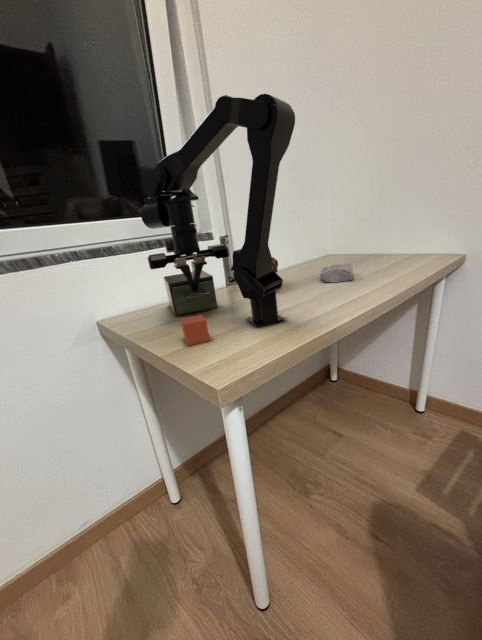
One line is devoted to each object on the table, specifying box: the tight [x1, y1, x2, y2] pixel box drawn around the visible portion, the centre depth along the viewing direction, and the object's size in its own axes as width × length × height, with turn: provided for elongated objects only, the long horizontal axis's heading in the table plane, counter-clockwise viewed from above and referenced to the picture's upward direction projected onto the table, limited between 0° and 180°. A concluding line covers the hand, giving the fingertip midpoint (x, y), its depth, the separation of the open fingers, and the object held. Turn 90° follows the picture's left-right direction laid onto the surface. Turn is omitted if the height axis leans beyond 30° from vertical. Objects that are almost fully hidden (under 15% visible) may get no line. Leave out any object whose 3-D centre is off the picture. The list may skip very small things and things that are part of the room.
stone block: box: [319, 263, 354, 283], centre depth 99 cm, size 12×5×10 cm
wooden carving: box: [271, 256, 279, 273], centre depth 97 cm, size 16×5×10 cm, turn 0°
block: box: [180, 314, 210, 346], centre depth 62 cm, size 4×4×4 cm
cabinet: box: [163, 269, 219, 317], centre depth 86 cm, size 14×12×9 cm
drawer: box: [172, 280, 218, 314], centre depth 82 cm, size 17×10×7 cm, turn 19°
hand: (195, 291), depth 77 cm, fingers closed
